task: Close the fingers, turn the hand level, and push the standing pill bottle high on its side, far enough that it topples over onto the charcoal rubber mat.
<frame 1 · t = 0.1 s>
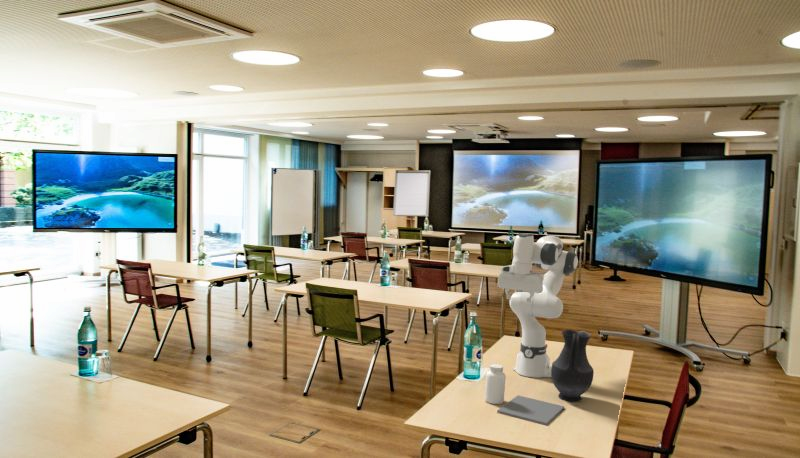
hand: (518, 300, 265), 39 cm above the table, tool pointing down, fingers open, 8 cm apart
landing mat: (531, 410, 239), on the table
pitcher: (570, 400, 254), on the table
pill bottle: (494, 401, 248), on the table
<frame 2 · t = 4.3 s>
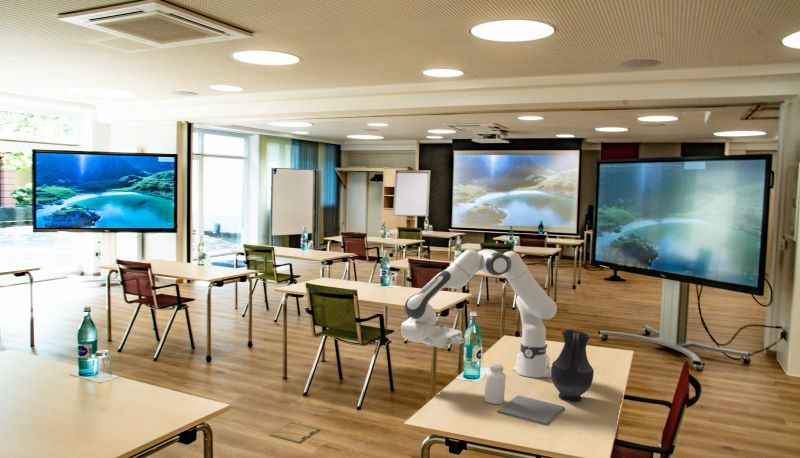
hand: (462, 341, 254), 22 cm above the table, tool horizontal, fingers closed
nothing on the table moved.
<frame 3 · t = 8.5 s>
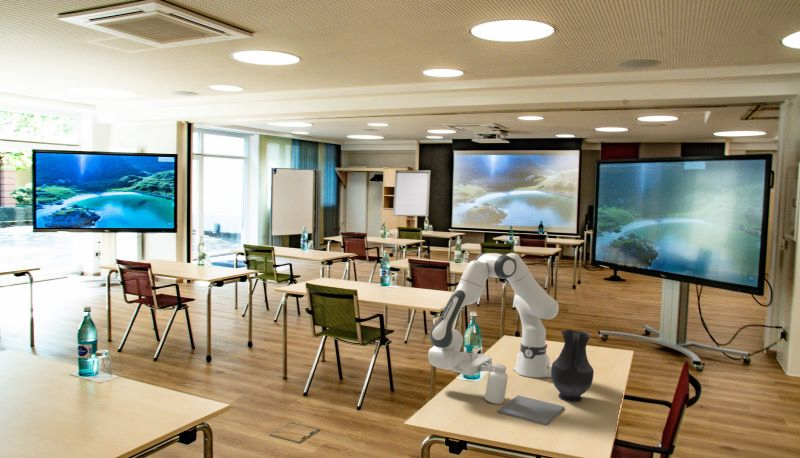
hand: (493, 368, 247), 13 cm above the table, tool horizontal, fingers closed, pressing on pill bottle
pill bottle: (494, 400, 248), on the table, touching gripper
everything else where it was.
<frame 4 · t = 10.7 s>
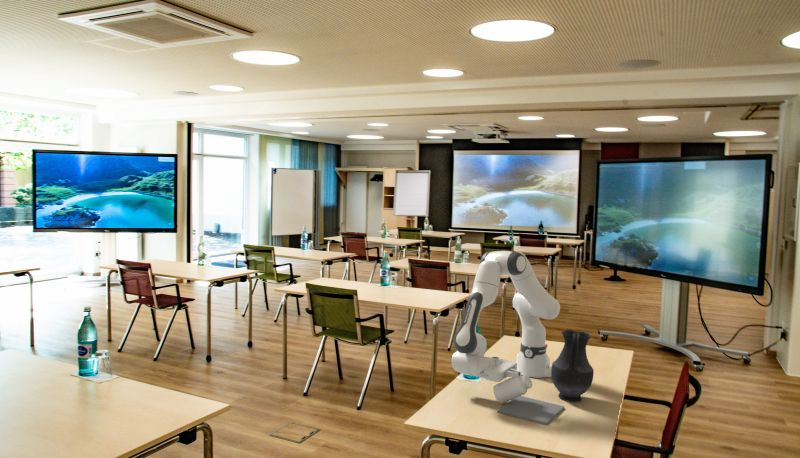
hand: (519, 374, 241), 13 cm above the table, tool horizontal, fingers closed
pill bottle: (497, 394, 246), point 3 cm above the table, touching gripper
everything else where it was.
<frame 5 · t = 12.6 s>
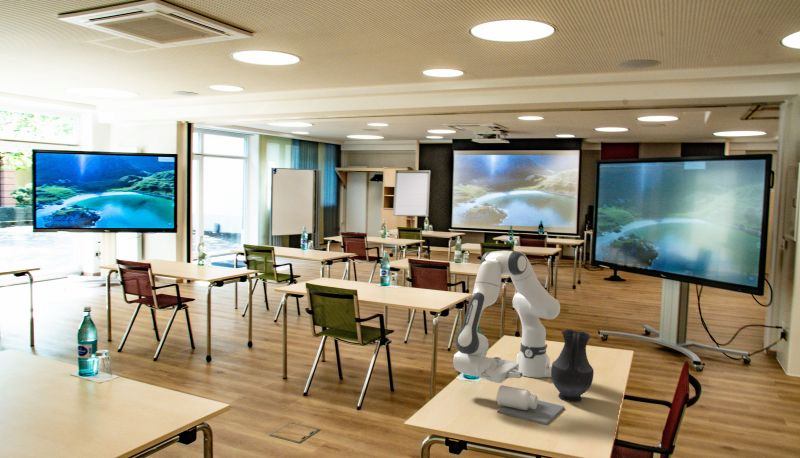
hand: (521, 375, 241), 13 cm above the table, tool horizontal, fingers closed
pill bottle: (499, 394, 242), point 5 cm above the table, touching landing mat
everything else where it was.
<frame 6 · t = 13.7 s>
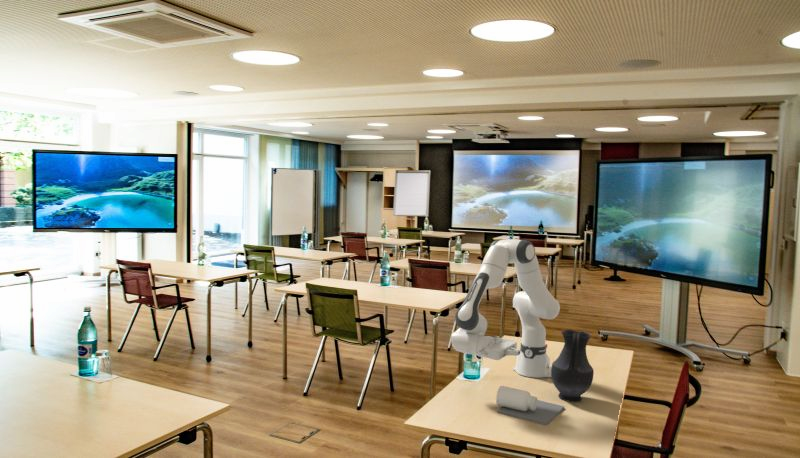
hand: (519, 353, 241), 22 cm above the table, tool horizontal, fingers closed
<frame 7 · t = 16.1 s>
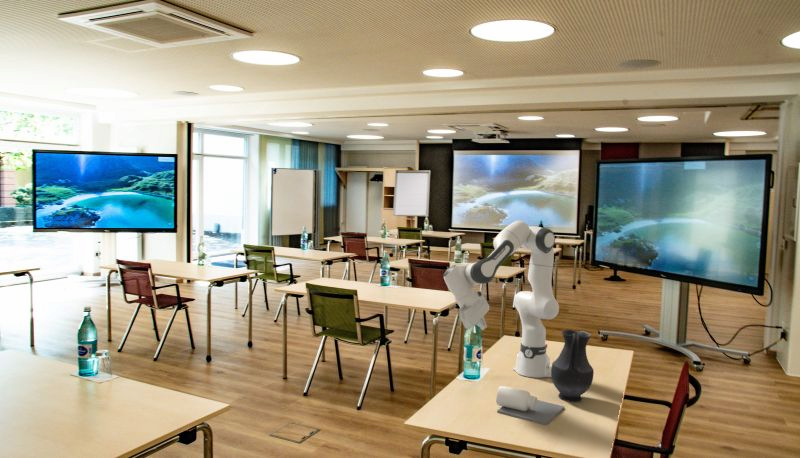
hand: (484, 328, 257), 28 cm above the table, tool tilted 35°, fingers closed
nothing on the table moved.
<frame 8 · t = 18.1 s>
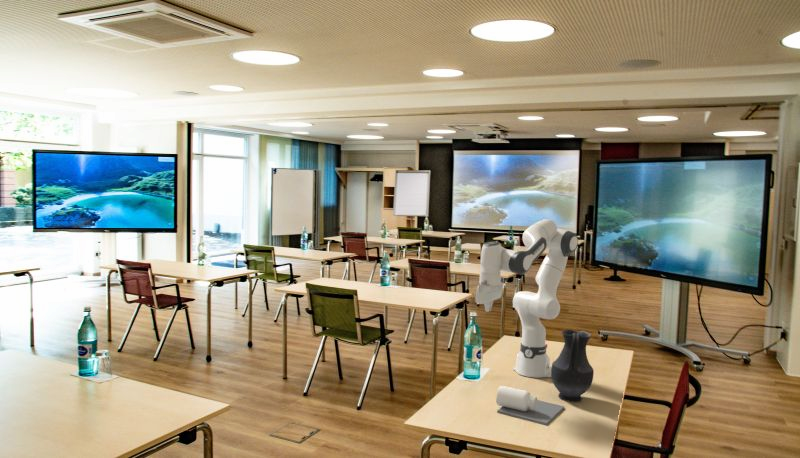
hand: (488, 311, 257), 35 cm above the table, tool pointing down, fingers closed
nothing on the table moved.
at the end: pill bottle tilted 91°; pill bottle touching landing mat; pill bottle inside the target area (5.6 cm from its centre), point 4.8 cm above the table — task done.
